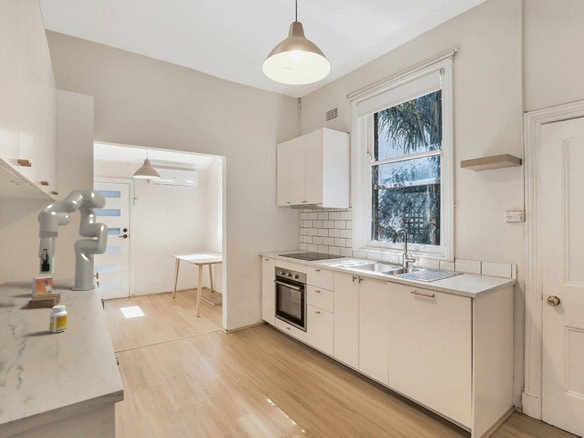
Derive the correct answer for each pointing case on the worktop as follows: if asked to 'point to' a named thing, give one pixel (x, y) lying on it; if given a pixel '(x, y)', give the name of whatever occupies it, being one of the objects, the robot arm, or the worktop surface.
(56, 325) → the supplement bottle
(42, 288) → the small box
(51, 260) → the sage block
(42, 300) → the walnut base
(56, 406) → the worktop surface
